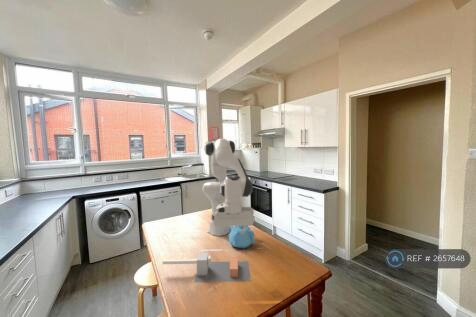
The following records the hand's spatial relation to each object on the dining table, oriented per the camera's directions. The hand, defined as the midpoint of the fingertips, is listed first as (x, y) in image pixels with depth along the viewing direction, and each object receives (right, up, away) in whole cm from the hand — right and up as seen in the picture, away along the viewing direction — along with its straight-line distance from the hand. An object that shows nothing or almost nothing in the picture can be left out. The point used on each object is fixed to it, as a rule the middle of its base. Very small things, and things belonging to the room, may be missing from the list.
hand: (233, 233), depth 98 cm
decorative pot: (+4, -19, +30) cm, 36 cm away
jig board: (-5, -20, +1) cm, 21 cm away
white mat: (-14, -20, +16) cm, 29 cm away
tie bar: (-24, -15, 0) cm, 28 cm away
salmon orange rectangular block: (0, -20, +1) cm, 20 cm away
